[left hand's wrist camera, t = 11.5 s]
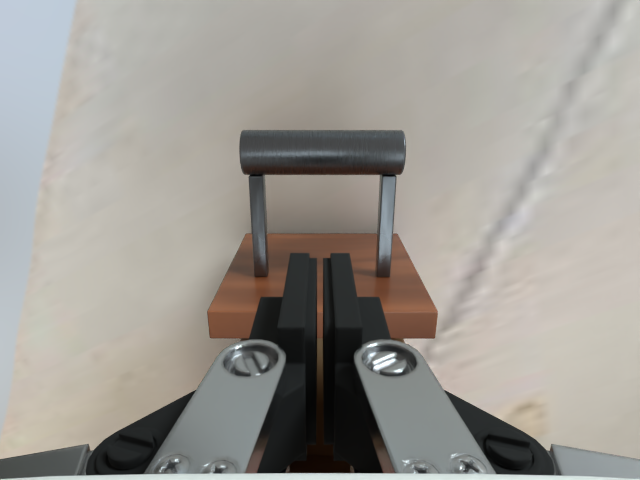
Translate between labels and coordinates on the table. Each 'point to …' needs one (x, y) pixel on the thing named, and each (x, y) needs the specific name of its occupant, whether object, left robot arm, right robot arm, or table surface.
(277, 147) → the drawer
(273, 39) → the table surface
